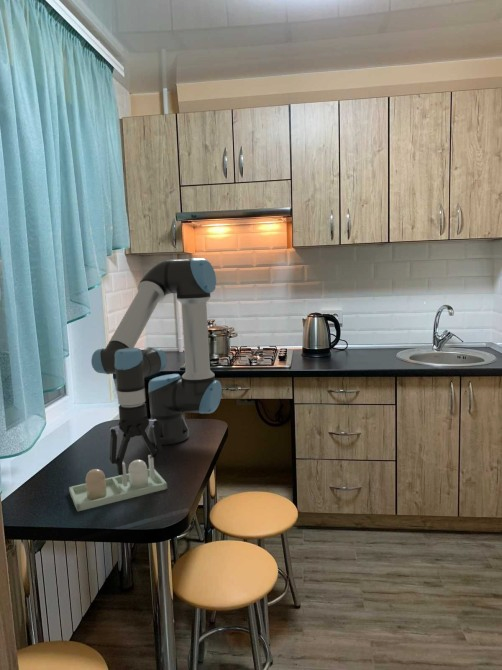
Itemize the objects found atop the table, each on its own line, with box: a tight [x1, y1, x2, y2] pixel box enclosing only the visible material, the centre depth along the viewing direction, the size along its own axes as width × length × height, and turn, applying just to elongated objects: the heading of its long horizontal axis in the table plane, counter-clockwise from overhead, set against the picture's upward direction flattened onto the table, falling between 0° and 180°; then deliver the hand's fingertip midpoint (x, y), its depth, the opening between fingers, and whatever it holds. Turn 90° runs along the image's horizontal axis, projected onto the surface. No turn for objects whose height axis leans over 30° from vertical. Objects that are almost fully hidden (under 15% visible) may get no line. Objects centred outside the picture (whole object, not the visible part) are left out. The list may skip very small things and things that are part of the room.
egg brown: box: [84, 468, 107, 500], centre depth 142 cm, size 5×5×8 cm
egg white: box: [127, 459, 148, 490], centre depth 147 cm, size 5×5×8 cm
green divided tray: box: [68, 468, 168, 512], centre depth 145 cm, size 24×13×2 cm, turn 118°
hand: (138, 481), depth 147 cm, fingers open, 7 cm apart
